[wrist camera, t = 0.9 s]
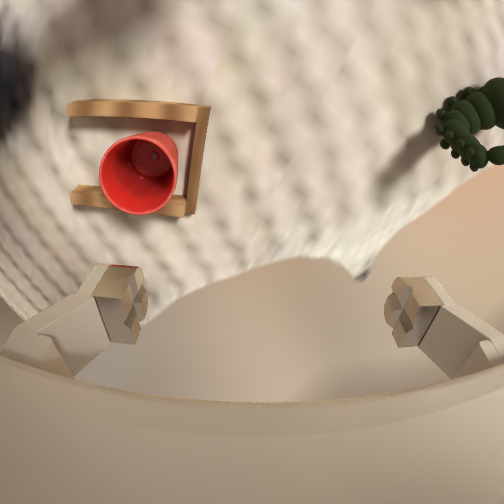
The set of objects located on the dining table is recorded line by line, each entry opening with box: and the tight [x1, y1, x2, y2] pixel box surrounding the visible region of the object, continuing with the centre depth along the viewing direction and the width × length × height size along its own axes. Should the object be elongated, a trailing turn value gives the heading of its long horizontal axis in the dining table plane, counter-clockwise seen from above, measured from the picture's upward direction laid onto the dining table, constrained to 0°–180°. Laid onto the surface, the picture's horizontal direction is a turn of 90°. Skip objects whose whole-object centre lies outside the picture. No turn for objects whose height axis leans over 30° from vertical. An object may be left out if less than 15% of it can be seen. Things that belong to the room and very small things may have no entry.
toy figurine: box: [435, 77, 504, 172], centre depth 29 cm, size 9×19×25 cm
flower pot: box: [99, 131, 178, 215], centre depth 38 cm, size 11×11×10 cm
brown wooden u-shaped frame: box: [67, 100, 211, 218], centre depth 40 cm, size 22×17×4 cm
